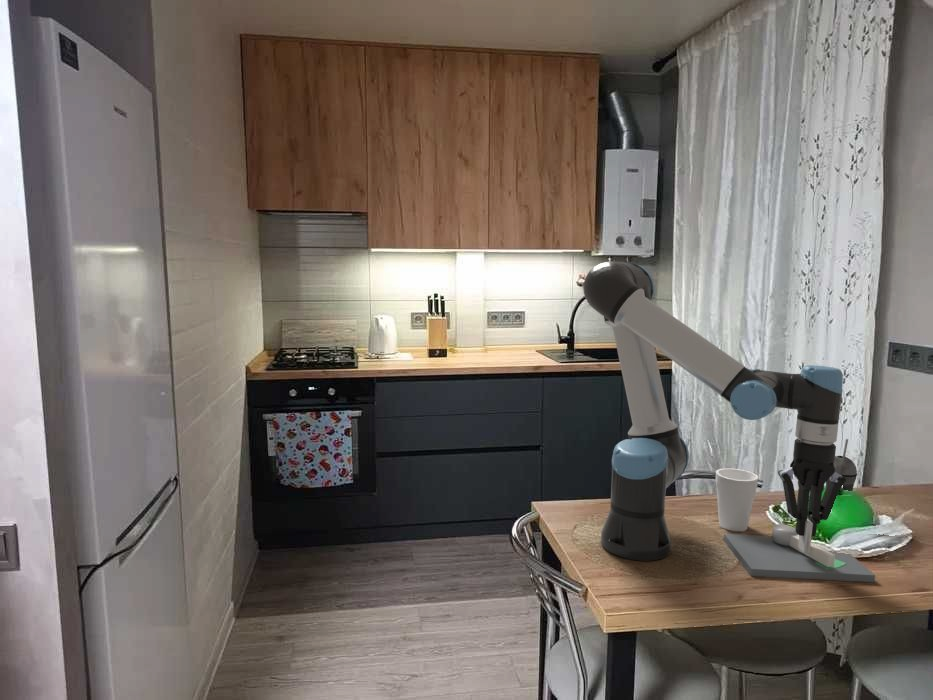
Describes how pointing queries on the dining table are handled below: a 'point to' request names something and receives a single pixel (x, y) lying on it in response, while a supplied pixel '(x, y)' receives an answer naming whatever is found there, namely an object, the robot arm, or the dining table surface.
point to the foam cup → (735, 497)
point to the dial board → (792, 561)
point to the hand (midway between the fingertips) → (803, 550)
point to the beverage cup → (845, 469)
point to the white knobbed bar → (791, 538)
